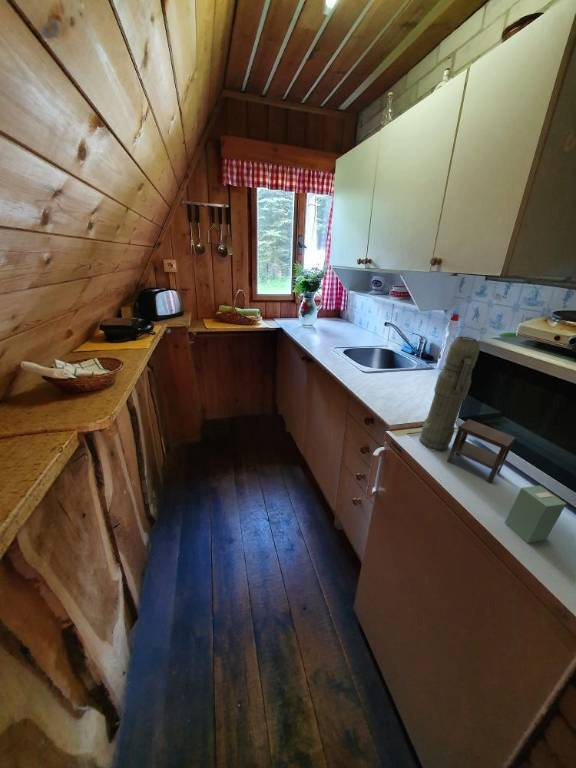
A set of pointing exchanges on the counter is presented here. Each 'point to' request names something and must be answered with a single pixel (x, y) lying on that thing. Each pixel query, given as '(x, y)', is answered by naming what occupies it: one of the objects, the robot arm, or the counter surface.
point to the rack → (479, 453)
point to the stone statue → (450, 393)
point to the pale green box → (534, 513)
